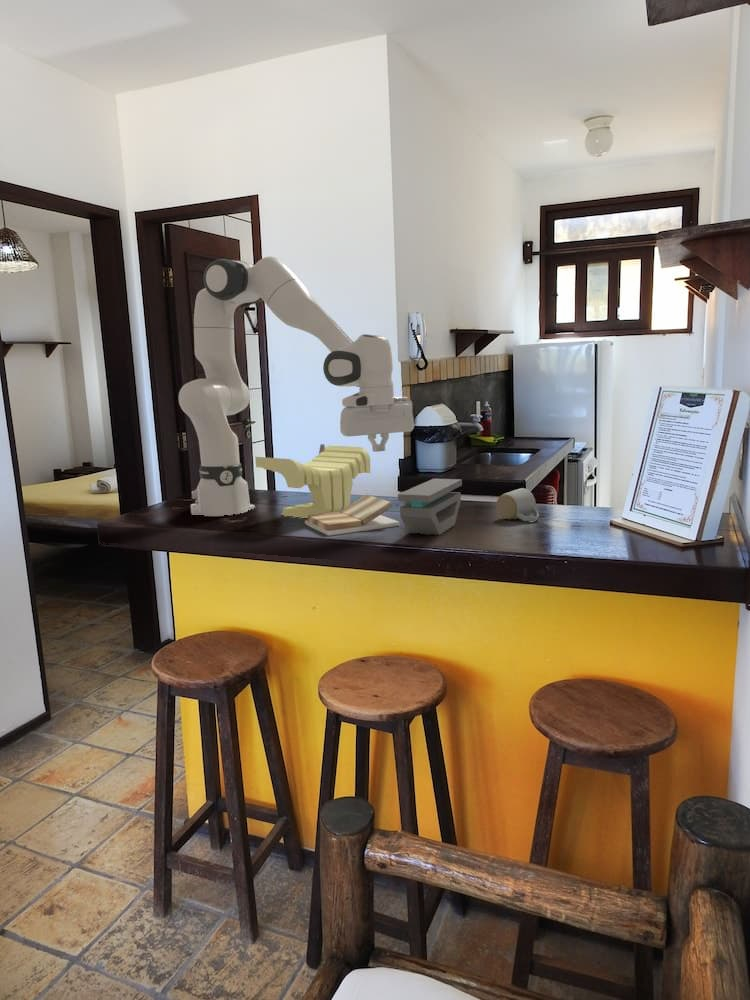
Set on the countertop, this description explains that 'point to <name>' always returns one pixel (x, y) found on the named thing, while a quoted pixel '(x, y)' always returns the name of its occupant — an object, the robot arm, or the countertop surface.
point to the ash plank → (367, 508)
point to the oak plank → (334, 521)
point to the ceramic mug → (517, 505)
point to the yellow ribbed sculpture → (321, 478)
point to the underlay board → (375, 524)
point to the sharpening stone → (431, 506)
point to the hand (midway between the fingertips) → (378, 451)
